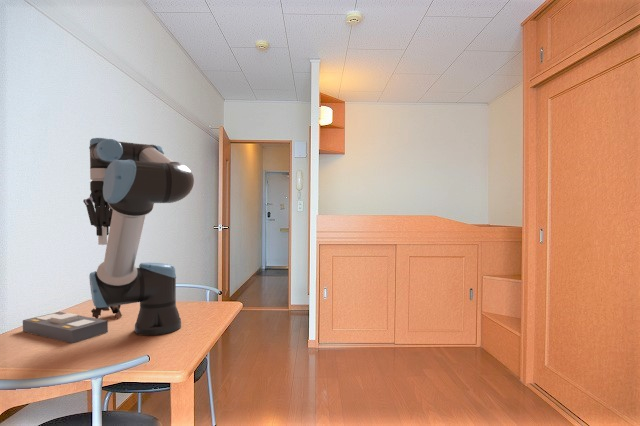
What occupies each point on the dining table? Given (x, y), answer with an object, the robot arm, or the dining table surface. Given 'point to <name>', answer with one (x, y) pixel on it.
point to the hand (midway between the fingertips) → (102, 244)
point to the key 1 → (46, 317)
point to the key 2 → (80, 323)
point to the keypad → (65, 329)
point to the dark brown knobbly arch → (114, 309)
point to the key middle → (64, 318)
